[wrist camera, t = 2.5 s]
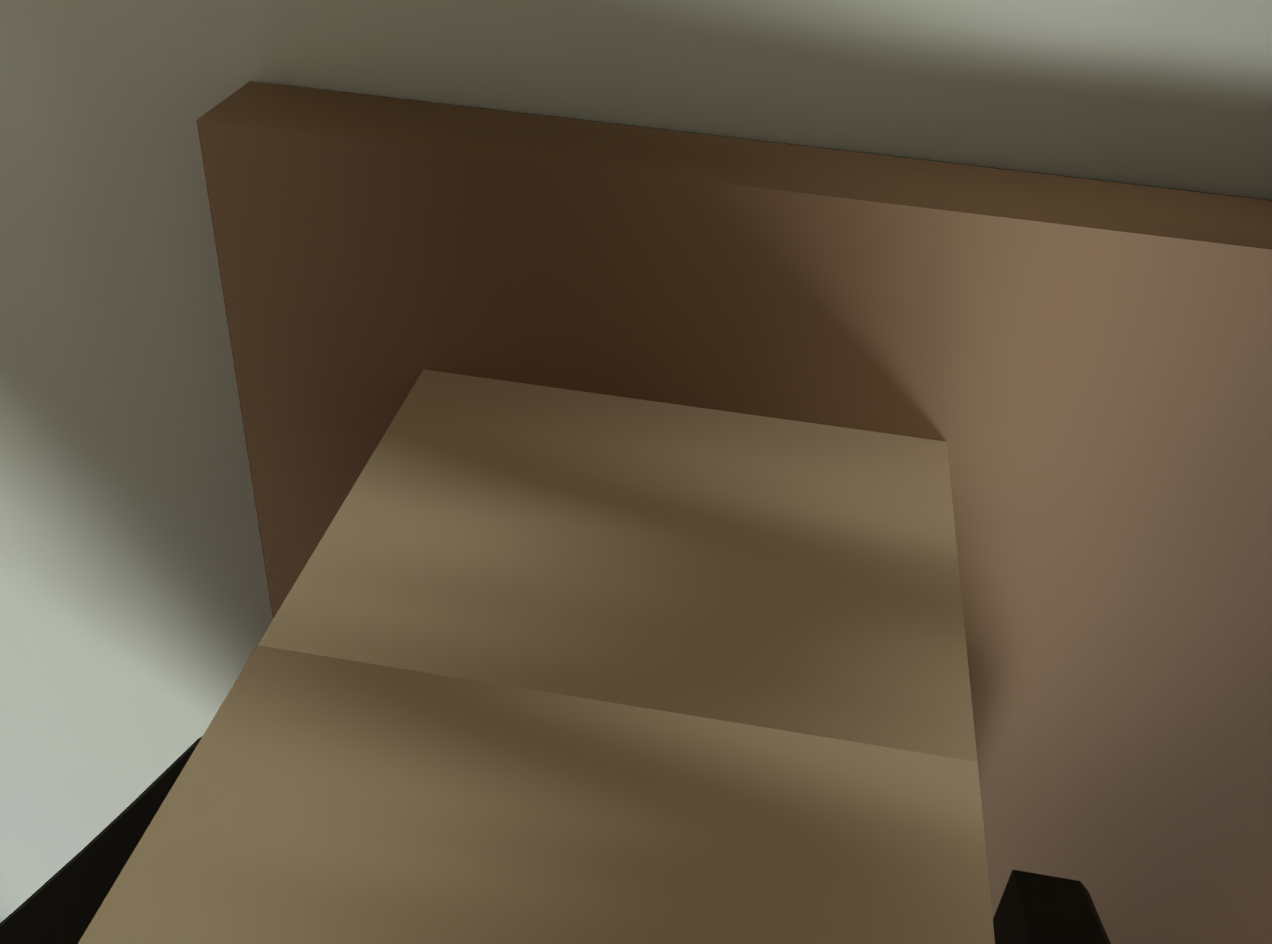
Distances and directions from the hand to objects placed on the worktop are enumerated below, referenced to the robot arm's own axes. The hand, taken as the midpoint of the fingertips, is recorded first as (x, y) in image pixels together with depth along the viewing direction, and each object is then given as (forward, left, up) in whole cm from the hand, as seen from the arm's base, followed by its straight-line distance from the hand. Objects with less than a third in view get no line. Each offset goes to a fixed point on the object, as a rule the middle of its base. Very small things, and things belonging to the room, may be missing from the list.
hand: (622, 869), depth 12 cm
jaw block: (0, 0, -1) cm, 1 cm away
